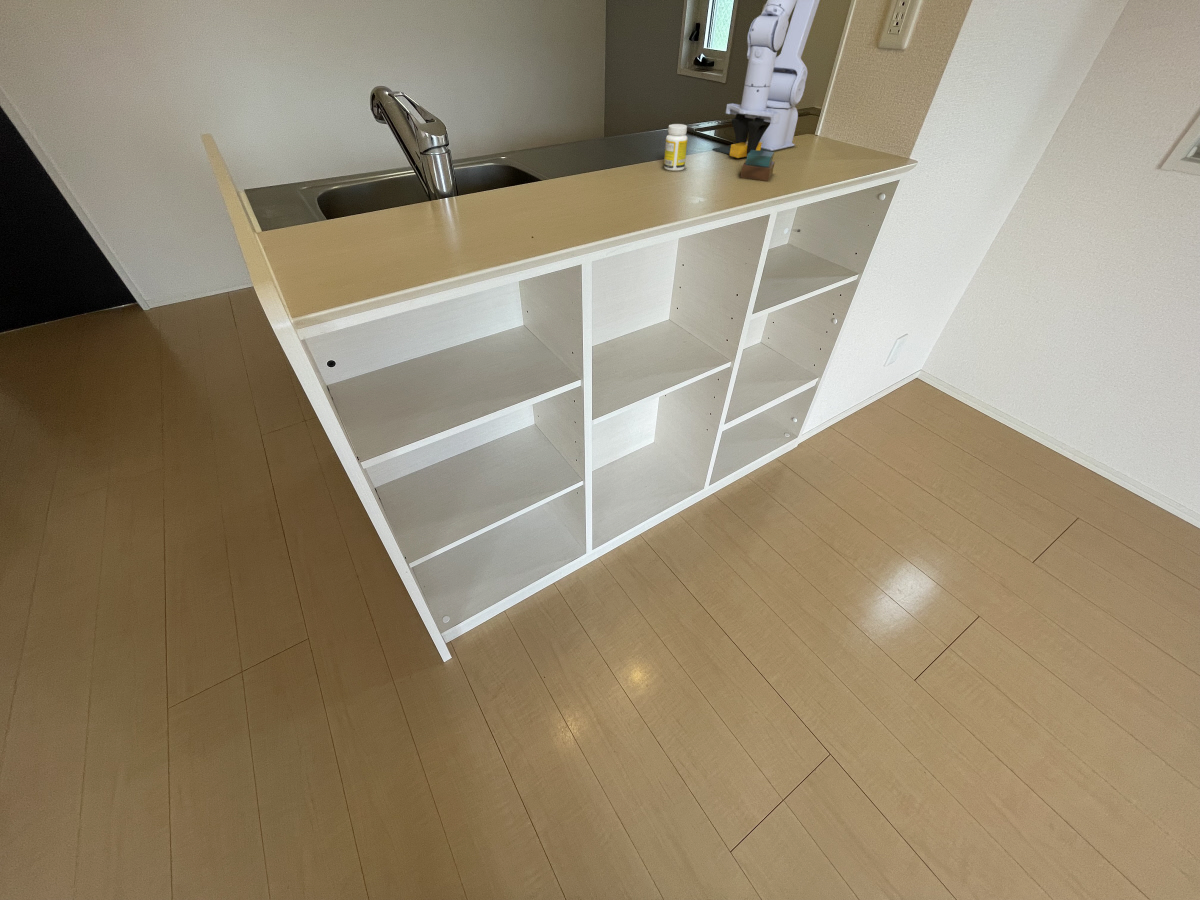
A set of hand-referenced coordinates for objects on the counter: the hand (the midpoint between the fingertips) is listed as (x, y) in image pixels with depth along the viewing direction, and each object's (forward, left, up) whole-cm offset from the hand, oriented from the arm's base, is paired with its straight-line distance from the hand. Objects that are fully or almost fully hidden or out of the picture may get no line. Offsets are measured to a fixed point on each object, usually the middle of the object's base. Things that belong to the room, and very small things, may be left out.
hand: (744, 153), depth 123 cm
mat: (-6, -5, -1) cm, 7 cm away
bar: (0, 0, 0) cm, 0 cm away
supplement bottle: (+21, -3, -1) cm, 21 cm away
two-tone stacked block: (+10, +12, -1) cm, 16 cm away
